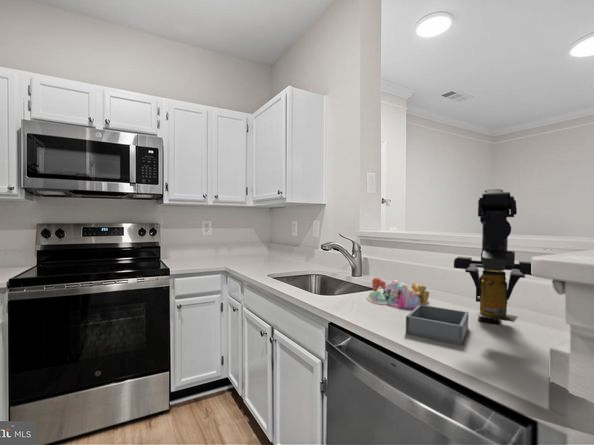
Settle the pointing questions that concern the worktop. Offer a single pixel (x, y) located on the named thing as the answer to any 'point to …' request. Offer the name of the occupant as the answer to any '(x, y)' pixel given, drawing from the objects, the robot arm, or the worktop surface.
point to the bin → (438, 323)
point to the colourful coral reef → (398, 294)
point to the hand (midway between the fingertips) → (493, 297)
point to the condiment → (494, 296)
